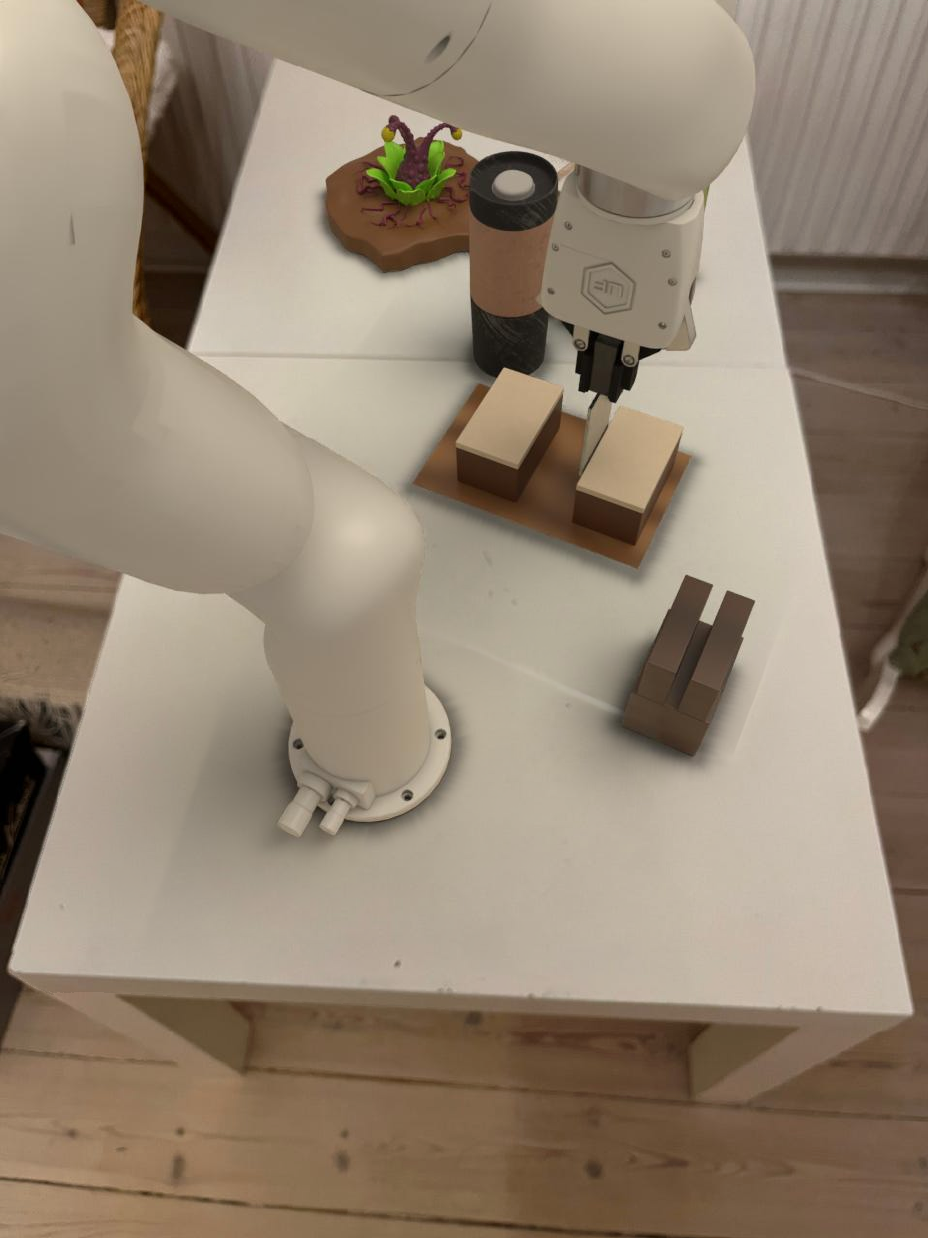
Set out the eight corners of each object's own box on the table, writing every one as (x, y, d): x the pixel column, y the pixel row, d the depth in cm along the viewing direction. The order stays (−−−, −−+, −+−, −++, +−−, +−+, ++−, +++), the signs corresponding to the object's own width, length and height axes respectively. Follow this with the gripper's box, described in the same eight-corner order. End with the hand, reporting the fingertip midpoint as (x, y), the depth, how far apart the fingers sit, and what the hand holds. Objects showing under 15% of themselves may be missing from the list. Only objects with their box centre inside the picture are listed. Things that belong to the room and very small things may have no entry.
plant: (297, 197, 108) (278, 102, 98) (437, 140, 113) (433, 44, 103) (384, 292, 99) (373, 197, 89) (532, 225, 104) (537, 129, 94)
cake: (516, 503, 83) (518, 464, 78) (457, 480, 84) (455, 441, 80) (560, 427, 87) (564, 387, 83) (503, 407, 89) (503, 366, 84)
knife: (589, 479, 78) (608, 363, 67) (570, 472, 78) (585, 356, 67) (615, 432, 81) (637, 313, 70) (596, 425, 81) (615, 306, 70)
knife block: (694, 756, 71) (726, 694, 61) (621, 725, 72) (641, 659, 63) (726, 673, 74) (761, 602, 65) (656, 645, 76) (680, 571, 66)
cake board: (636, 573, 80) (637, 568, 79) (412, 488, 85) (412, 483, 84) (690, 461, 86) (691, 455, 85) (478, 388, 91) (478, 382, 91)
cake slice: (635, 546, 80) (643, 508, 76) (571, 522, 82) (576, 484, 77) (673, 466, 85) (684, 426, 80) (612, 444, 86) (619, 404, 82)
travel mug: (561, 356, 93) (578, 174, 76) (512, 398, 90) (517, 217, 73) (505, 322, 96) (509, 138, 79) (455, 361, 93) (448, 179, 76)
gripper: (498, 168, 57) (493, 385, 73) (743, 236, 54) (682, 450, 69) (546, 107, 61) (532, 327, 77) (779, 167, 57) (714, 386, 73)
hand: (603, 384), depth 73 cm, fingers closed on knife, 1 cm apart
